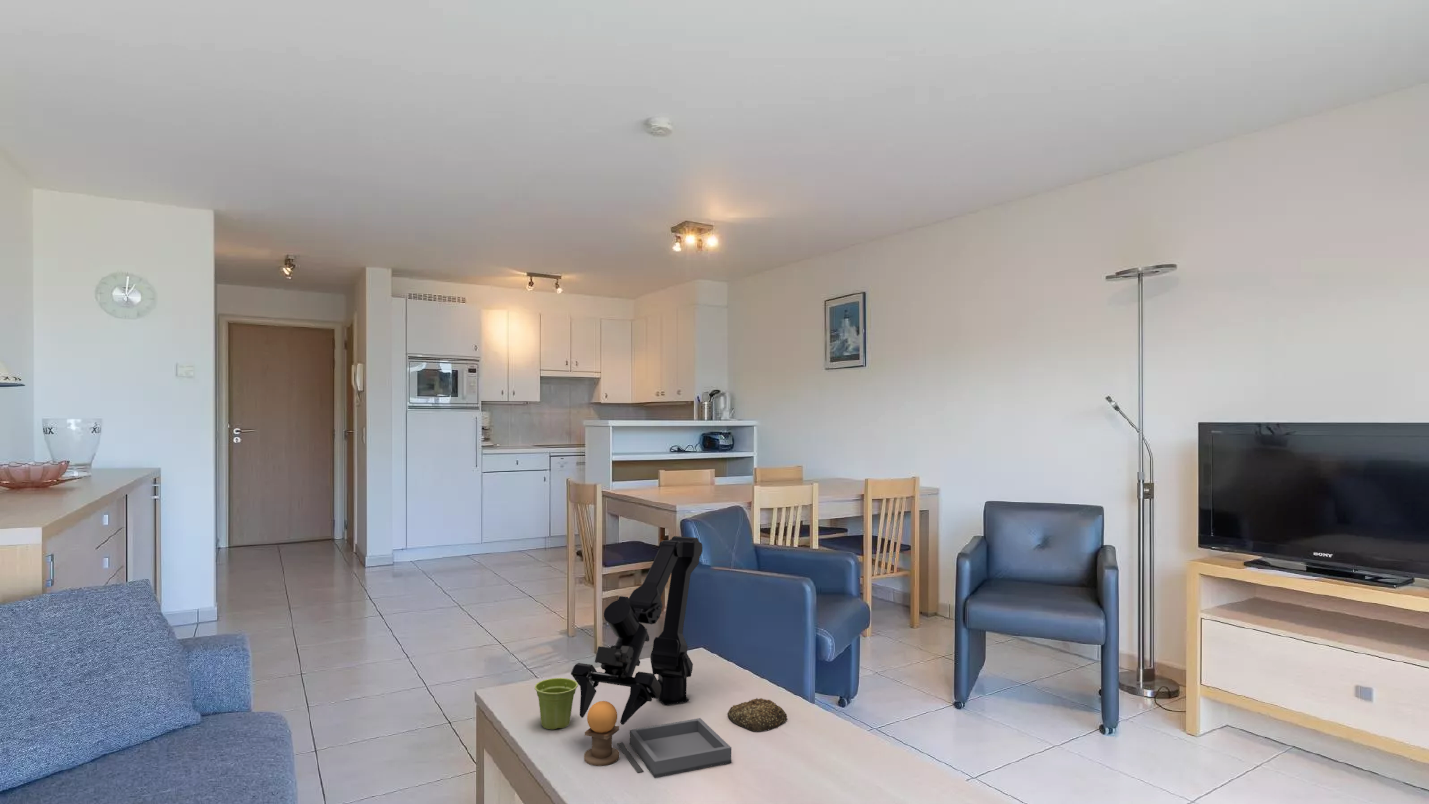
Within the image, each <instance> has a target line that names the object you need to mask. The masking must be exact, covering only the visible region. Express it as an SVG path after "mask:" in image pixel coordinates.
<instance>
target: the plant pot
mask: <svg viewBox="0 0 1429 804" xmlns="http://www.w3.org/2000/svg"><path fill="white" fill-rule="evenodd" d="M578 686H579V684H578V683H577V682H576V680H575V679H571V678H565V677H554V678H548V679H542V680H540V681H539V682H537V683H536V684H534V690H535V691H536V695H537V697H538V706H539V713H540V724H541V726H542V728H543V729H547V730H556V729H563V728H566V727H568V726H569V725H570V723H571V717H572V716H571V715H572V710H573V709H572V708H573V702H574V698H575V697H574V695H575V694H576V690H577V688H578Z"/></svg>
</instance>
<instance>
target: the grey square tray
mask: <svg viewBox="0 0 1429 804" xmlns="http://www.w3.org/2000/svg"><path fill="white" fill-rule="evenodd" d="M628 741H629V746H631V749H633V751H634V752H635V753H636V754H637V756H638V757H639V760H641V761H642V764H644V765H645V767H646V768H647V770H648V771H649V772H650V773H651V775H652V776H653V778H654V779H656V778H661V777H665V776H670V775H676V774H680V773H686V772H691V771H696V770H701V769H706V768H712V767H718V766H723V765H728V764H732V746H731V745H729V744H728V743H727V742H726V741H725V740H724V739H723V738H722V737H721V736H720V735H719V734H718V733H717V732H716V731H715V730H714V729H712V727H710V726H709V725H708V723H706V722H705V720H704V719H702V718H701V717H697V718H692V719H686V720H680V721H679V720H678V721H674V722H667V723H662V724H661V723H660V724H655V725H650V726H644V727H638V728H631V729H629V740H628Z"/></svg>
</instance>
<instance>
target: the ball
mask: <svg viewBox="0 0 1429 804" xmlns="http://www.w3.org/2000/svg"><path fill="white" fill-rule="evenodd" d="M617 711H618V710H617V708H616V707H615V705H614V704H613V703H611V702H609V701H606V700H600V701H597V702H595V703H593V704H592V705H591V706H590V707H589V708H588V710H587V715H586V721H587V724H588V727H589V729H590V728H591V729H592V730H593V731H594V732H597V733H606V732H609V731H610V730H611V729H612V728H613V727H614V726H616V724H617V721H618V712H617Z"/></svg>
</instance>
